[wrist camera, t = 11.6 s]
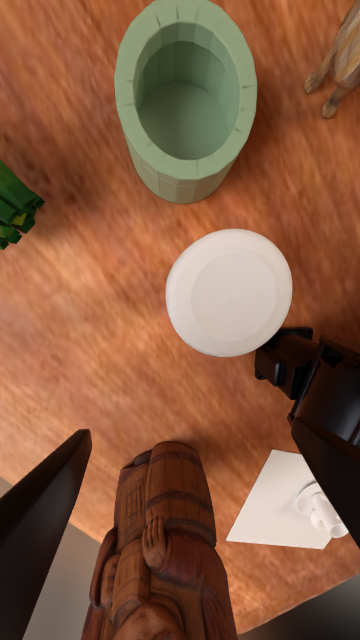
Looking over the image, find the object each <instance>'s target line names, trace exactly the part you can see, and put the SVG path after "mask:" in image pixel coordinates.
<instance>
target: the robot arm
mask: <svg viewBox="0 0 360 640" xmlns="http://www.w3.org/2000/svg"><path fill="white" fill-rule="evenodd" d="M307 331H308V332H307ZM312 335H313V329H312V328H309V327H298V328H279V329H278V331H277V332H276V333H275V334H274V335H273V336H272V337H271V338H270V339H269V340H268V341H267V342H266V343H264V344H263V345H262V346H260V347H258V348H257V349H256V354H255V365H254V366H255V377H256V378H257V379H258V380H264V379H267V380H268V381H269V382H270V383H271V384H272V385H273V386H275V387H278V388H280V389H281V390H282V391H283V392H284V393H285V394H286V395H287V396H288V397H289V398H290V399H291V400H296V401H295V403H294V405H293V408H292V410H291V413H289V414H288V416H287V419H288V421H289V423H290V426H291V428H292V429H291V434H292V437H293V439H294V441H295V443H296V445H297V447H298V449H299V451H300V453H301V455H302V456H303V458H304V460H305V462H306V463H307V465H308V467H309V469H310V471H311V473H312V474H313V476H314V478H315V480H316V481H317V483H318V484H319V486H320V488H321V489H322V491H323V492H324V494H325V495H326V497H327V499H328V500H329V502H330V503H331V505H332V506H333V508H334V510H335V511H336V513H337V514H338V516H339V517H340V519H341V521H342V522H343V524H344V525H345V527H346V528H347V530H348V532H349V533H350V535H351V536H352V538H353V539H354V541H355V543H356V544H357V546H358V547H359V549H360V342H355V341H350V340H345V339H340V338H335V337H330V336H324V335H321V336H320V339H319V341H320V343H319V344H318V343H315V342H313V341H312ZM258 375H260V376H258ZM91 450H92V440H91V433H90V430H89V429H79V430H78V431H76V432H75V433H74V434H73V435H72V436H71V437H69V438H68V439H67V440H66V441H65V442H64V443H63V444H61V445H60V446H59V447H58V448H57V449H56V450H55V451H53V452H52V453H51V454H50V455H49V456H48V457H47V458H45V459H44V460H43V461H42V462H41V463H40V464H39V465H37V466H36V467H35V468H34V469H33V470H32V471H31V472H29V473H28V474H27V475H26V476H25V477H24V478H23V479H21V480H20V481H19V482H18V483H17V484H16V485H15V486H13V487H12V488H11V489H10V490H9V491H8V492H7V493H5V494H4V495H3V496H2V497H1V498H0V640H22V639H23V636H24V634H25V631H26V629H27V626H28V623H29V621H30V618H31V616H32V613H33V610H34V608H35V605H36V603H37V600H38V598H39V595H40V593H41V590H42V587H43V585H44V582H45V580H46V577H47V574H48V572H49V569H50V567H51V564H52V562H53V559H54V557H55V554H56V551H57V549H58V546H59V544H60V541H61V539H62V536H63V534H64V530H65V528H66V525H67V523H68V521H69V518H70V516H71V513H72V510H73V508H74V505H75V502H76V500H77V497H78V494H79V491H80V487H81V484H82V481H83V477H84V474H85V470H86V467H87V464H88V460H89V457H90V454H91Z"/></svg>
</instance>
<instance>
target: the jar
mask: <svg viewBox="0 0 360 640" xmlns="http://www.w3.org/2000/svg"><path fill="white" fill-rule="evenodd" d="M114 86H115V97H116V107H117V111H118V115H119V118H120V121H121V125H122V128H123V132H124V135H125V139H126V142H127V145H128V149H129V152H130V155H131V158H132V161H133V164H134V167H135V169H136V171H137V173H138V175H139V176H140V178H141V180H142V181H143V182H144V184H145V185H146V186H147V187H148V188H149V189H150V190H151V191H152V192H153V193H154V194H156V195H157V196H159V197H160V198H162V199H164V200H166V201H169V202H173V203H177V204H189V203H194V202H197V201H200V200H202V199H204V198H206V197H207V196H209V195H210V194H211V193H212V192H213V191H214V190H215V189H217V188H218V186H219V185H220V184H221V182H222V181H223V179H224V177H225V176H226V174H227V173H228V171H229V170H230V168H231V166H232V164H233V163H234V161H235V159H236V158H237V156H238V154H239V153H240V151H241V149H242V148H243V146H244V144H245V143H246V141H247V139H248V136H249V133H250V130H251V127H252V124H253V121H254V118H255V113H256V101H257V78H256V72H255V67H254V61H253V57H252V54H251V52H250V49H249V47H248V45H247V43H246V41H245V38H244V36H243V34H242V32H241V31H240V29H239V28H238V26H237V25H236V24H235V23H234V22H233V21H232V19H231V18H230V17H229V16H228V15H227V14H226V12H225V11H224V10H222V8H221V7H219V6H217V5H216V4H214V3H212V2H210V1H208V0H156V1H154V2H152V3H151V4H149V5H148V6H147V7H146V8H145V9H144V10H143V11H142V12H141V13H140V14H139V15H138V16H137V17H136V18H135V19H134V20H133V22H131V23H130V26H129V28H128V30H127V32H126V34H125V36H124V38H123V40H122V42H121V44H120V46H119V51H118V57H117V63H116V69H115V75H114Z"/></svg>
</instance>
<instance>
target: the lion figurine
mask: <svg viewBox="0 0 360 640" xmlns="http://www.w3.org/2000/svg"><path fill="white" fill-rule="evenodd" d="M330 70H331V72H332V75H333V80H334V81H335V82H336V84H337V86H339V88H337V89H336V90H335V91H334V92H333V93H332V94H331V95H330V97H329V99H328V101H327V102H326V103H325V105H324V106H323V109H322V116H324V117H325V118H331V117H333V115H334V114H335V112H336V109H337V107H338V105H339V104H340V103H341V102H342V100H343V99H344V98H345V97H346V96H347V95H348V94H350V93H351V92H352V91H354V90H355V89H357V88H358V87H359V86H360V0H356V2H355V3H354V4H353V6H352V7H351V8H350V10H349V11H348V13H347V15H346V16H345V18H344V20H343V22H342V23H341V25H340V28H339V31H338V33H337V36H336V38H335V40H334V44H333V45H332V47H331V49H330V51H329V52H328V54H327V56H326V57H325V59H324V61H323V63H322V65H321V66H320V68H319V69H318V70H317V71H316V72H312V73H310V74H309V75H308V76H307V78H306V80H305V83H304V89H305V91H306V92H307V93H308V94H310V93H312V92H313V91H315V90H316V89H317V88H318V87H320V85H321V84H322V82H323V80H324V78H325V77H326V76H327V74H328V73H329V71H330Z"/></svg>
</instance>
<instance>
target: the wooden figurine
mask: <svg viewBox="0 0 360 640" xmlns="http://www.w3.org/2000/svg"><path fill="white" fill-rule="evenodd" d="M216 542H217V540H216V527H215V520H214V513H213V507H212V501H211V496H210V492H209V487H208V484H207V480H206V476H205V473H204V470H203V467H202V464H201V461H200V458H199V455H198V454H197V452H196V451H195V450H193V449H191V448H189V447H187V446H186V445H184V444H178V443H175V442H168V443H160V444H157V445H155V446H154V448H153V450H152V451H149V452H145V453H144V454H143V455H140V456H137V457H136V458H135V459H134V465H133V466H132V467H129V468H125V469H121V471H120V476H119V482H118V487H117V493H116V501H115V511H114V527H113V528H112V529H111V530H110V531H109V532H108V533H107V534H106V536H105V538H104V540H103V543H102V545H101V547H100V550H99V553H98V557H97V561H96V565H95V569H94V573H93V577H92V582H91V587H90V594H89V596H90V601H91V603H90V606H89V609H88V612H87V616H86V620H85V623H84V627H83V631H82V636H81V640H238V639H237V633H236V627H235V622H234V617H233V612H232V607H231V602H230V596H229V589H228V580H227V573H226V570H225V568H224V565H223V563H222V560H221V558H220V556H219V555H218V553H217V552H216V550H215V549H214V548H215V546H216Z"/></svg>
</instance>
